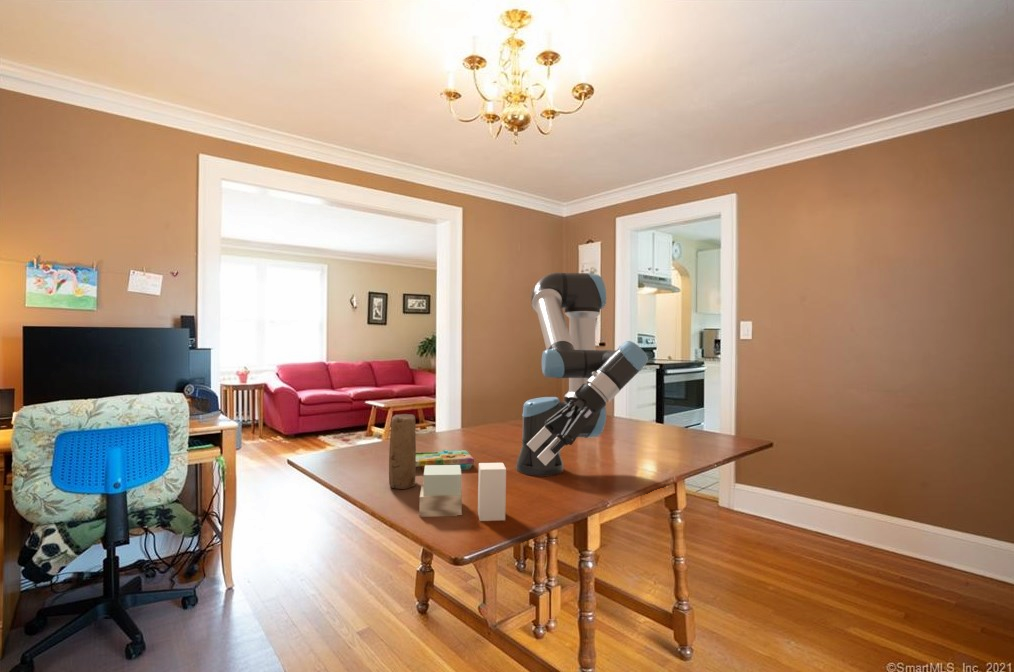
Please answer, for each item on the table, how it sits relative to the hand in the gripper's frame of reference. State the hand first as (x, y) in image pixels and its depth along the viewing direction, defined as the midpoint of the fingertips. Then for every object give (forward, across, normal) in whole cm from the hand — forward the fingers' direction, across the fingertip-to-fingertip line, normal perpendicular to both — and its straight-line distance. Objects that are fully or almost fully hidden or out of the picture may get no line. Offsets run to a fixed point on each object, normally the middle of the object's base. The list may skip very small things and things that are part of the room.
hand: (535, 454), depth 121 cm
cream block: (+18, 0, +3) cm, 18 cm away
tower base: (+26, -6, -5) cm, 28 cm away
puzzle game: (+26, -46, -5) cm, 54 cm away
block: (+34, -27, -13) cm, 46 cm away
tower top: (+23, -6, -9) cm, 25 cm away
